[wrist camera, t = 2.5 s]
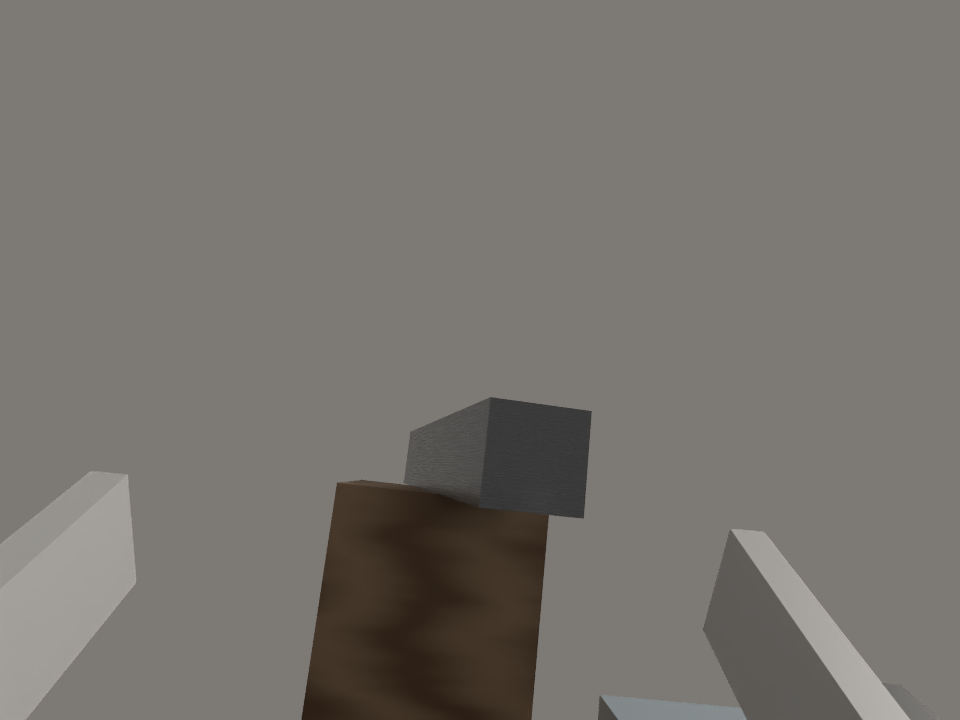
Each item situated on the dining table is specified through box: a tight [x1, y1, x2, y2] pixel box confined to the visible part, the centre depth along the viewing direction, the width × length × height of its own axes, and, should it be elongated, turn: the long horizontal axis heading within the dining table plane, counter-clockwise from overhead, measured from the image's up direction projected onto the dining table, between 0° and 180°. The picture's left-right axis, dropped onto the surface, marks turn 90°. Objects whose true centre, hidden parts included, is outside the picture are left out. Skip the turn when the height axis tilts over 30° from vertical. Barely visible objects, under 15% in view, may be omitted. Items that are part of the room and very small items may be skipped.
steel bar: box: [404, 397, 591, 518], centre depth 32 cm, size 4×24×4 cm, turn 13°
